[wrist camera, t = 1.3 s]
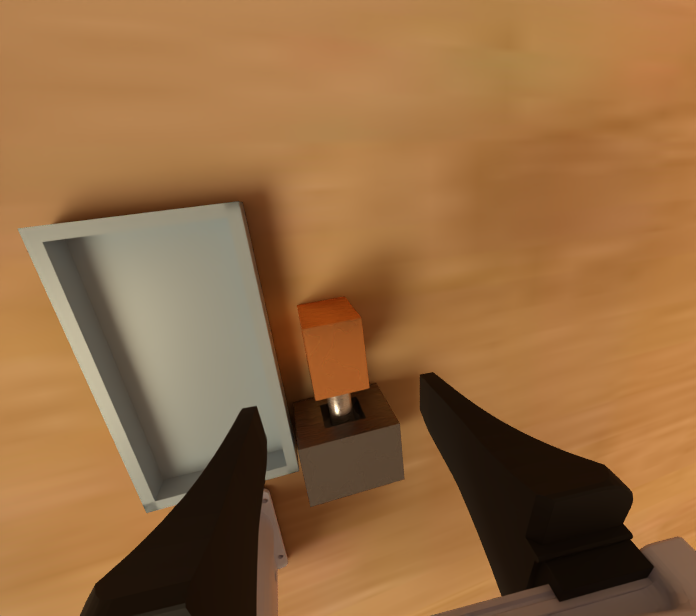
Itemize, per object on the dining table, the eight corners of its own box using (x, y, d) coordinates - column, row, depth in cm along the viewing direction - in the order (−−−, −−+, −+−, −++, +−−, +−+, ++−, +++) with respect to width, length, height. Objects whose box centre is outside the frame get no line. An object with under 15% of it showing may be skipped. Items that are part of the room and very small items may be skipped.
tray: (296, 448, 27) (298, 471, 24) (158, 484, 25) (146, 513, 22) (242, 202, 20) (238, 201, 18) (49, 226, 18) (17, 228, 16)
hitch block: (381, 430, 28) (404, 478, 23) (303, 451, 27) (310, 507, 22) (375, 382, 27) (399, 423, 21) (293, 402, 25) (298, 450, 20)
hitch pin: (365, 452, 29) (382, 500, 24) (326, 463, 28) (336, 514, 23) (344, 296, 24) (361, 317, 19) (296, 305, 23) (302, 329, 18)
